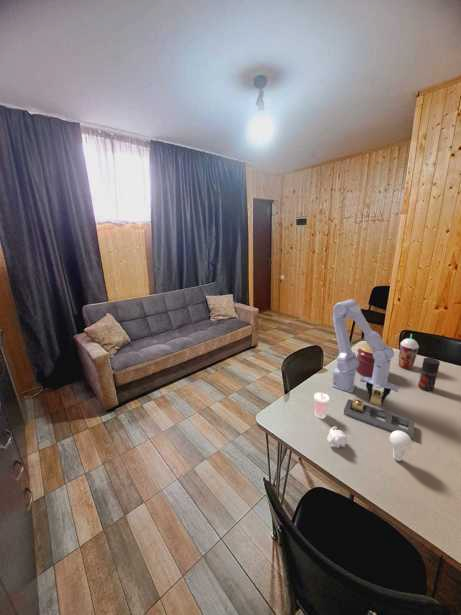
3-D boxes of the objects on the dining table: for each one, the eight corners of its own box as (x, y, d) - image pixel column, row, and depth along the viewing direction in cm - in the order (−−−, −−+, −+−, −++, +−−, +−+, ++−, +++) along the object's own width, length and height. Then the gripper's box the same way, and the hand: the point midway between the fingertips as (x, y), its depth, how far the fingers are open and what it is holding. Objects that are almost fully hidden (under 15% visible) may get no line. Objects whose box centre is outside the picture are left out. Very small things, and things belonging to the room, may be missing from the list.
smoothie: (418, 370, 135) (425, 337, 129) (402, 370, 135) (409, 337, 129) (407, 362, 143) (413, 331, 137) (393, 363, 143) (398, 331, 137)
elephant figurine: (322, 438, 93) (323, 425, 92) (343, 436, 94) (344, 423, 92) (331, 453, 87) (332, 439, 85) (352, 451, 87) (354, 437, 86)
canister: (357, 363, 144) (361, 335, 139) (383, 370, 137) (387, 340, 132) (353, 373, 134) (356, 344, 129) (380, 381, 127) (385, 350, 122)
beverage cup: (316, 407, 109) (319, 380, 105) (330, 414, 105) (333, 386, 101) (310, 414, 105) (312, 386, 101) (323, 422, 101) (326, 392, 97)
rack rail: (343, 413, 105) (344, 409, 104) (348, 403, 111) (348, 398, 110) (412, 439, 91) (413, 434, 90) (413, 426, 97) (414, 421, 97)
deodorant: (436, 392, 117) (442, 364, 112) (421, 391, 118) (427, 363, 114) (429, 385, 122) (435, 358, 118) (415, 384, 123) (421, 357, 119)
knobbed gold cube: (370, 403, 111) (371, 392, 110) (371, 398, 114) (373, 387, 113) (380, 406, 109) (382, 395, 107) (381, 401, 112) (383, 390, 110)
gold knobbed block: (351, 413, 105) (352, 402, 104) (353, 408, 108) (354, 397, 107) (361, 417, 103) (362, 406, 101) (363, 412, 106) (364, 401, 104)
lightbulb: (382, 452, 86) (386, 427, 83) (398, 450, 87) (403, 425, 84) (394, 468, 80) (400, 441, 77) (412, 466, 81) (418, 439, 78)
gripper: (360, 372, 108) (356, 398, 112) (399, 383, 100) (394, 410, 104) (363, 365, 114) (359, 390, 118) (400, 375, 105) (395, 401, 109)
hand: (376, 399), depth 111 cm, fingers closed on knobbed gold cube, 4 cm apart
